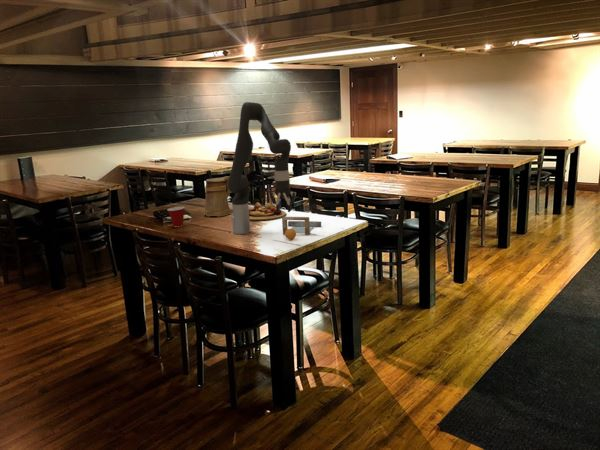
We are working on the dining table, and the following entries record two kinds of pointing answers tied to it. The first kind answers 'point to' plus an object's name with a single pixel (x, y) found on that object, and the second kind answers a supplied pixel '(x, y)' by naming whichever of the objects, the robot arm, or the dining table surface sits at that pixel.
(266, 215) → the wooden plate with food
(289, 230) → the ball
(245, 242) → the dining table surface
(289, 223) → the wall
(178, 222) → the plastic cup
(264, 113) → the robot arm
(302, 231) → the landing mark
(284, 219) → the tan arch
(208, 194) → the tankard
